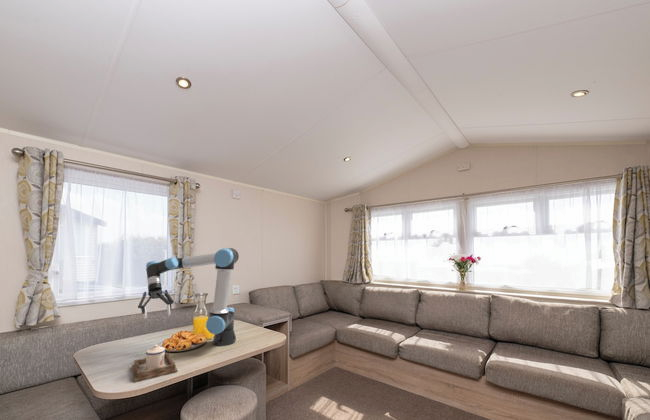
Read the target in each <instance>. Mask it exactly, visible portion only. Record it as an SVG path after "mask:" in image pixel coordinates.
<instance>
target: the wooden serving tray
mask: <svg viewBox="0 0 650 420" xmlns="http://www.w3.org/2000/svg"><path fill="white" fill-rule="evenodd" d="M178 370H179V369H178V368H177V366H176V363H175V362H174V360H173V358H172V357H171V355H170V353H165V356H164V366H163V367H159V368H154V369H150V370H146V357H145V358H140V359H135V360H134V361H133V364H132V365H131V371H132V375H133V379H134V383H138V382H142V381H147V380H151V379H155V378H160V377H164V376H168V375H172V374H177V373H178Z"/></svg>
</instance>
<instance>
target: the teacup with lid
mask: <svg viewBox="0 0 650 420" xmlns="http://www.w3.org/2000/svg"><path fill="white" fill-rule="evenodd" d="M165 354H166V348H165V347H163V346H159V344H155V345H153V346H152V347H151V348H148V350H146V351H145V355H146V356H145V358H146V370H150V369H154V368H159V367H163V366H164V356H165Z"/></svg>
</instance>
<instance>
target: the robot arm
mask: <svg viewBox="0 0 650 420" xmlns="http://www.w3.org/2000/svg"><path fill="white" fill-rule="evenodd" d="M239 256H240V255H239V252H238V251H237V249H236V248H232V247H226V248H225V247H224V248H220V249H219V250H217V251H216V252H213V253H206V254H199V255H191V256H185V257H177V258H175V257H169V258H166V259H164V260H162V261H158V260H151V261H148V262H147V263H146V265H145V266H146V267H145V268H146V270H145V271H146V279H147V289H148V291H144V292H143V293H142V297H141V299H140V301H139V304H138V306H137V308H138V309H140V310H141V314H143V319H144V320H146V319H147V318H148V314H147V313H148V312H147V307H146V306H147V304H148V303H149V302H150V301H151V299H152V300H157V299H159V300H161V301H163V303H165V304H166V310H167V316H168V317H169V316H170V315H172V313H171V312H172V311H171V310H172V304H174V303H175V301H174V300H173V298H172V297H171V295H170V294H169V292H168V290H167V289H165V290H163V288H162V287H163V286H162V279H161V274H164V273H166V272H169V271H174V270H180V269H187V268H195V267H203V266H210V265H215V267H214V269H215V271H216V280H215V288H214V297H213V305H212V308H211V309H210V311H209V316H208V317H209V318H208V319H207V321H206V322H205V328H206V330H207V331H208V332H209V333H211V334H212V335H214V336H213V338H212V344H213V345H214V346H218V345H219V347H221V346H222V345H223V346H229V345H232V344H235V343H236V342H235V341H237V338H236V334H235V329H234V328H235V327H234V326H235V308H234V307H228V300H229V292H230V284H231V283H230V281H231V273H232V271H233V270H234V268H235V264H236V263H237V262H238V260H239V258H240V257H239ZM147 296H149V297H148V299H146V297H147ZM145 299H146V301H145ZM143 303H144V304H143ZM223 346H222V347H223Z"/></svg>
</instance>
